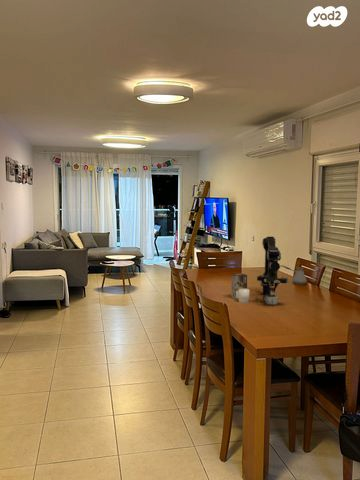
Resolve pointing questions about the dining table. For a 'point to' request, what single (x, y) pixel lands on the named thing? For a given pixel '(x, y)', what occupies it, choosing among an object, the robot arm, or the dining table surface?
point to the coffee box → (238, 283)
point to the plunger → (271, 291)
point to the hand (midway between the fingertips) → (272, 292)
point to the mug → (243, 295)
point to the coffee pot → (298, 276)
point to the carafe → (271, 299)
